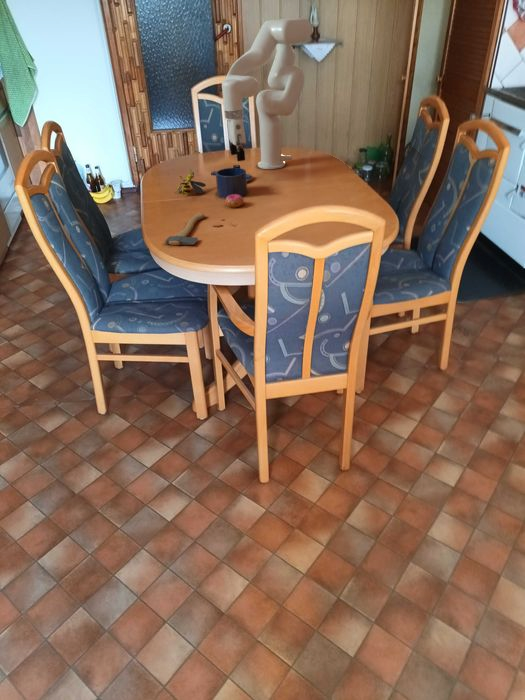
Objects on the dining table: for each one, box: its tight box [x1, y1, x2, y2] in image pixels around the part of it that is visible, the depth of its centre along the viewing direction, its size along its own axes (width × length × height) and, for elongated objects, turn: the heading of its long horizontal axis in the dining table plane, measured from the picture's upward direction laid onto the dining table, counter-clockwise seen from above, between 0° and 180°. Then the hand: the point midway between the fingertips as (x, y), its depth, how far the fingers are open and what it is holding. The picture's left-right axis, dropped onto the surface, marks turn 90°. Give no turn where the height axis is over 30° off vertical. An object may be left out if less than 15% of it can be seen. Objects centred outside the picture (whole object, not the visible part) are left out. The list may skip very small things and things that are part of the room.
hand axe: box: [165, 212, 205, 246], centre depth 182 cm, size 27×2×10 cm
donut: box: [224, 194, 245, 209], centre depth 200 cm, size 7×7×4 cm
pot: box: [210, 167, 253, 199], centre depth 210 cm, size 12×17×8 cm
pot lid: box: [232, 164, 253, 183], centre depth 225 cm, size 13×13×6 cm
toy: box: [174, 169, 207, 196], centre depth 211 cm, size 12×8×15 cm
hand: (238, 157), depth 222 cm, fingers open, 9 cm apart
